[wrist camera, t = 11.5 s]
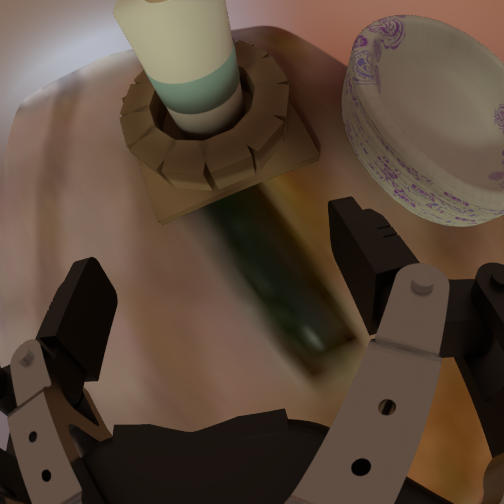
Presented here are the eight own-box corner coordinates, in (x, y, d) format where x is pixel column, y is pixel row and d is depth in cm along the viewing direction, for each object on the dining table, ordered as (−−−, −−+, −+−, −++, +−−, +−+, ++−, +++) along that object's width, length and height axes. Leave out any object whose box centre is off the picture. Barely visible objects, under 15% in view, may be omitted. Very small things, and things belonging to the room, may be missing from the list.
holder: (253, 51, 23) (250, 20, 19) (318, 160, 21) (326, 133, 17) (126, 104, 23) (107, 78, 19) (162, 224, 22) (139, 210, 18)
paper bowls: (333, 56, 23) (346, -10, 15) (477, 97, 21) (516, 53, 14) (325, 220, 21) (353, 178, 13) (496, 249, 19) (562, 232, 12)
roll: (232, 82, 22) (204, -45, 10) (256, 131, 21) (238, -6, 9) (171, 107, 22) (108, -8, 10) (189, 158, 21) (116, 40, 9)
